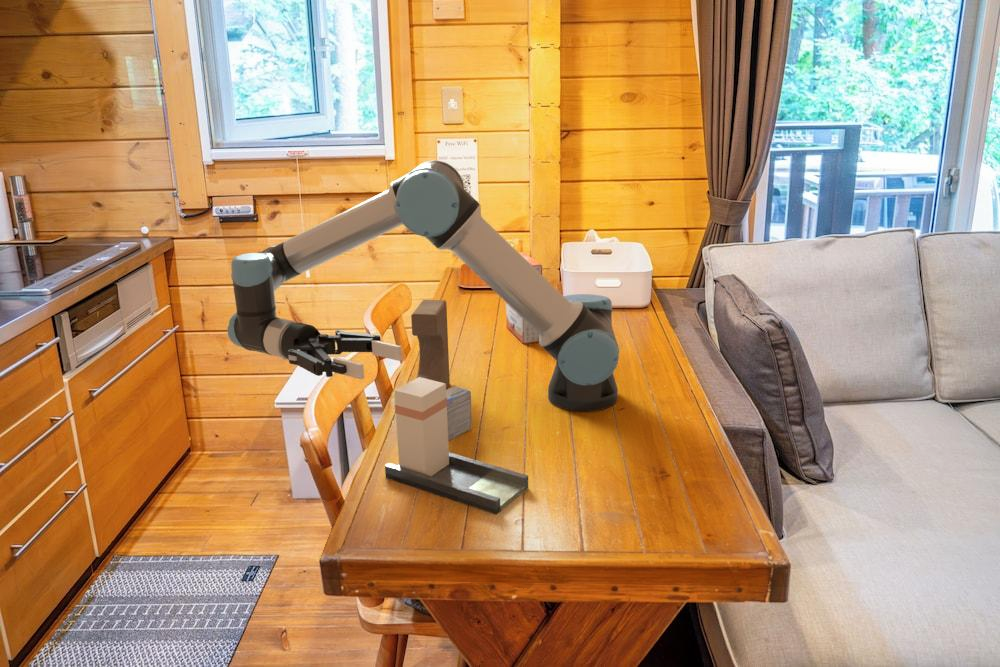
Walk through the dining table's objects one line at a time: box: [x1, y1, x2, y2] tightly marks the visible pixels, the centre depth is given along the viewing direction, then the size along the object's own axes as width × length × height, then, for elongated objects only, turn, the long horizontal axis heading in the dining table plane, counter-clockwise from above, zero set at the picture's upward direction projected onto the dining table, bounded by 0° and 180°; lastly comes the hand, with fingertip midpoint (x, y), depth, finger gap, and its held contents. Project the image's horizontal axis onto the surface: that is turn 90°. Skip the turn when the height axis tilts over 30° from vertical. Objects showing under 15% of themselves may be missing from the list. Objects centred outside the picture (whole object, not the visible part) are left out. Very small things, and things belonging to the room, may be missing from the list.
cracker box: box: [505, 251, 543, 345], centre depth 222 cm, size 14×6×21 cm, turn 17°
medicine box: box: [446, 385, 473, 442], centre depth 170 cm, size 8×4×9 cm, turn 141°
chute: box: [384, 451, 529, 515], centre depth 152 cm, size 24×10×2 cm, turn 57°
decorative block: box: [410, 299, 451, 389], centre depth 188 cm, size 11×6×20 cm, turn 171°
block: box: [394, 377, 450, 476], centre depth 153 cm, size 6×7×16 cm
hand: (381, 362), depth 154 cm, fingers open, 10 cm apart
